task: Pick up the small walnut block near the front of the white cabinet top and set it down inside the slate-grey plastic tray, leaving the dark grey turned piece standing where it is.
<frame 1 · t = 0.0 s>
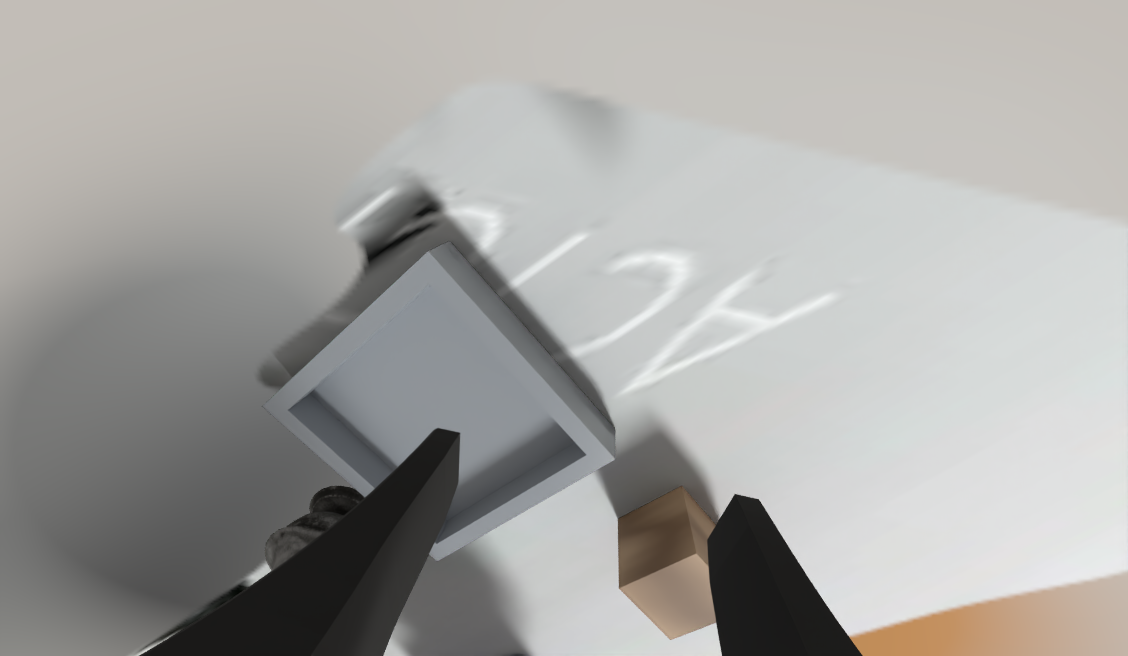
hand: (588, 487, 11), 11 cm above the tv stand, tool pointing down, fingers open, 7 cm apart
block: (670, 526, 25), on the tv stand
dark grey turned piece: (350, 515, 28), on the tv stand
tray: (451, 405, 23), on the tv stand
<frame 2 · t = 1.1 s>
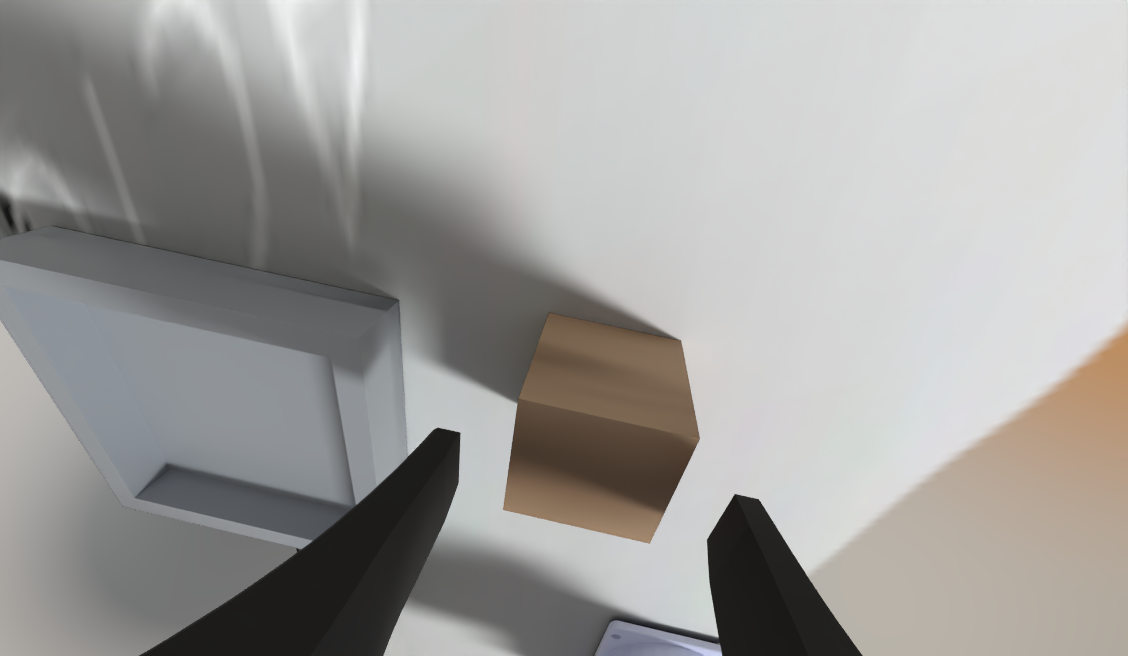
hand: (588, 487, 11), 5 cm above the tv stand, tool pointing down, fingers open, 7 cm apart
block: (600, 377, 15), on the tv stand
tray: (262, 399, 18), on the tv stand
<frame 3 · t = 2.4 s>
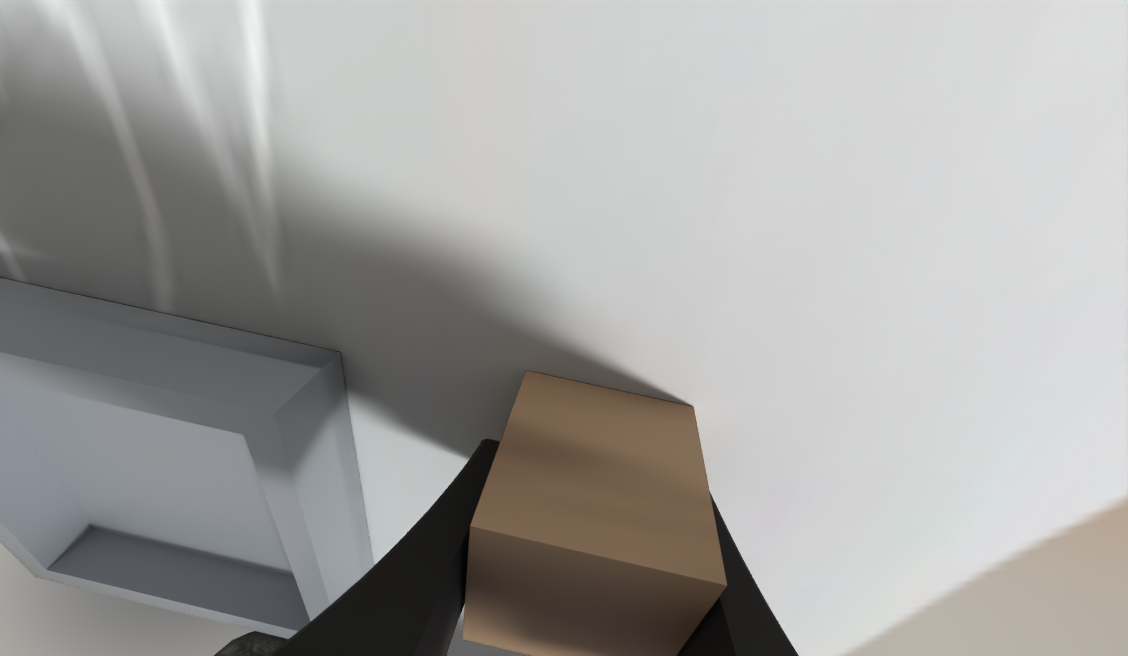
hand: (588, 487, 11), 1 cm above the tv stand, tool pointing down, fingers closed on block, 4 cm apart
block: (592, 446, 12), on the tv stand, touching gripper
dark grey turned piece: (305, 615, 22), on the tv stand
tray: (192, 456, 15), on the tv stand
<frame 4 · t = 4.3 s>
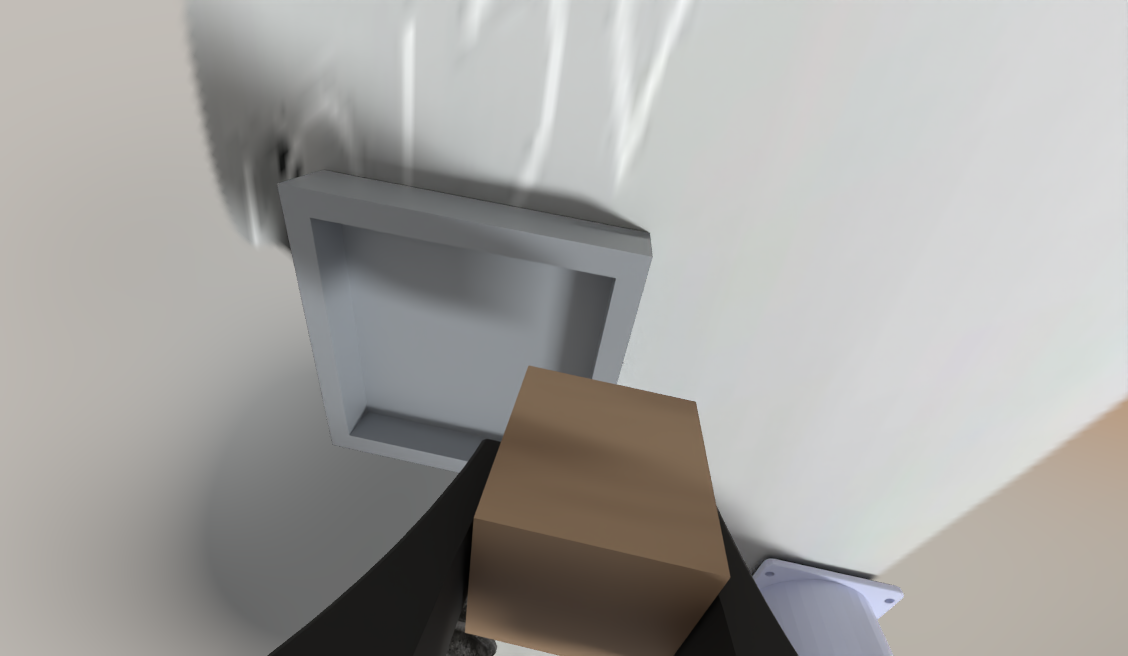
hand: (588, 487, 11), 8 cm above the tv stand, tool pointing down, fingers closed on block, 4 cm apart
block: (594, 442, 12), point 7 cm above the tv stand, touching gripper
dark grey turned piece: (502, 501, 26), on the tv stand
tray: (477, 339, 19), on the tv stand
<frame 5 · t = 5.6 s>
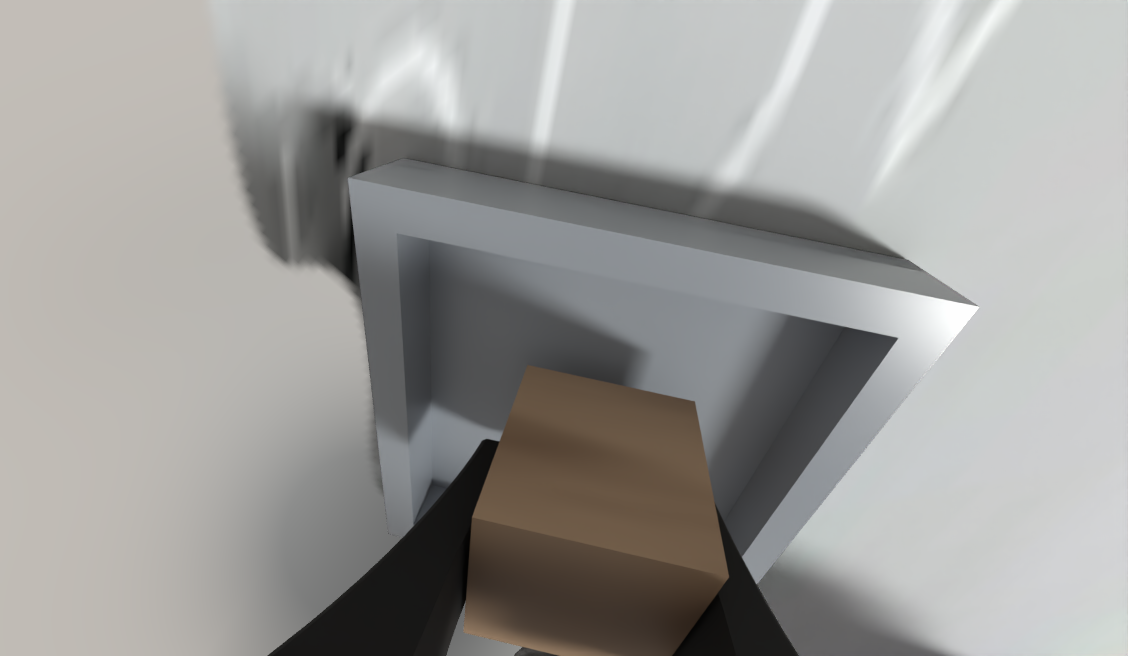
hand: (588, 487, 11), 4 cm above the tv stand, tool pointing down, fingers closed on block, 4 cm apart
block: (593, 441, 12), point 2 cm above the tv stand, touching gripper
tray: (598, 398, 14), on the tv stand
when the fingers open (3 cm above the tv stand, at t = 6.6 s): block stays where it is, resting on tray.
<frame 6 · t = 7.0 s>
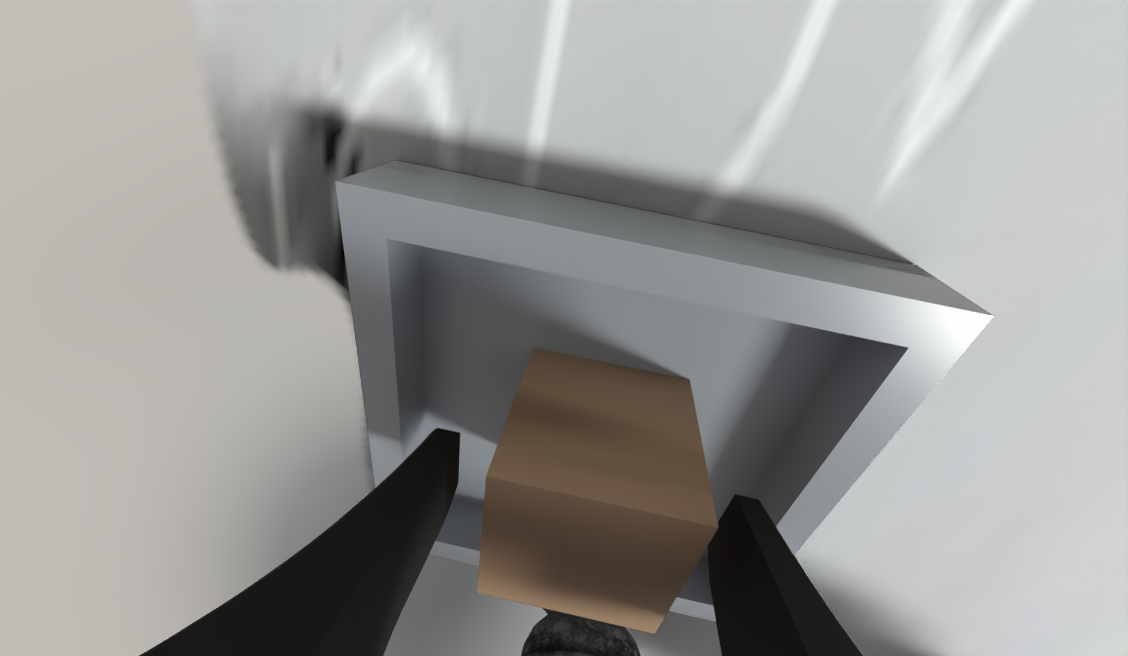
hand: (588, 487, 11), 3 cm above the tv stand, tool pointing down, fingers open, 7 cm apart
block: (595, 420, 13), point 1 cm above the tv stand, touching tray
dark grey turned piece: (587, 592, 20), on the tv stand
tray: (597, 405, 14), on the tv stand
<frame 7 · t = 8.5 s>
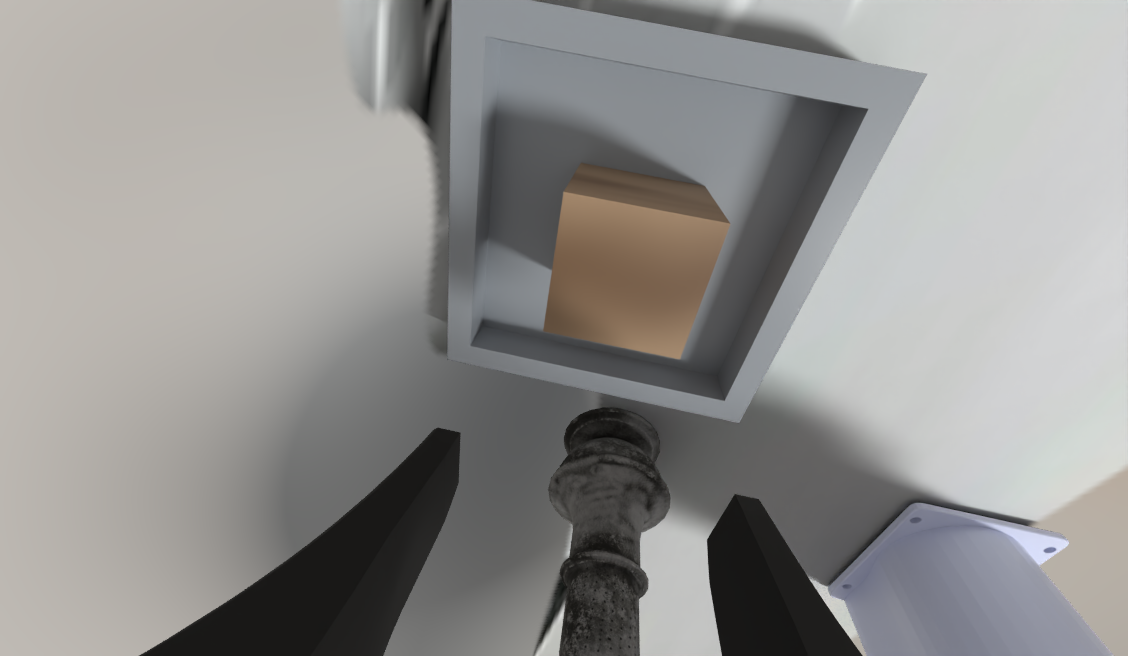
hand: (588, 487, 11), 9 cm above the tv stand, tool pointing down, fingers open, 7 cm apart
block: (628, 234, 16), point 1 cm above the tv stand, touching tray
dark grey turned piece: (611, 441, 23), on the tv stand
tray: (627, 230, 17), on the tv stand
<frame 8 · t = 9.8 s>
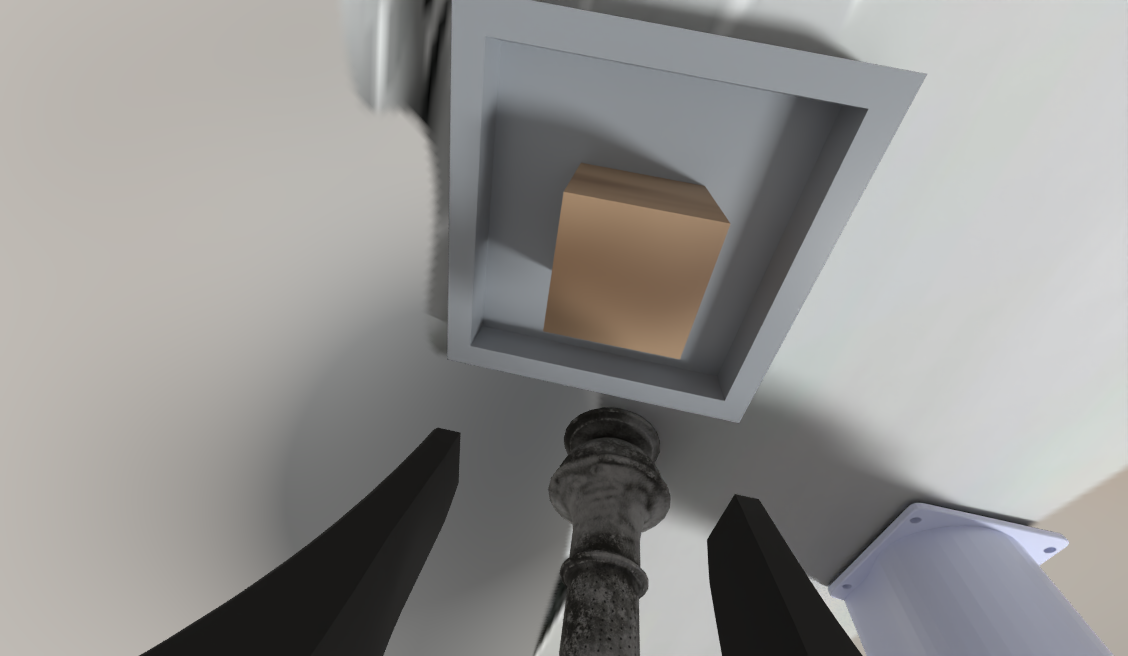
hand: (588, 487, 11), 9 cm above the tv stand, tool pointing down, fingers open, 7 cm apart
block: (628, 234, 16), point 1 cm above the tv stand, touching tray
dark grey turned piece: (611, 441, 23), on the tv stand
tray: (627, 230, 17), on the tv stand
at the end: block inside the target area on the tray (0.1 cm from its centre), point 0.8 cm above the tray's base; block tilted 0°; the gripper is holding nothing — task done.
